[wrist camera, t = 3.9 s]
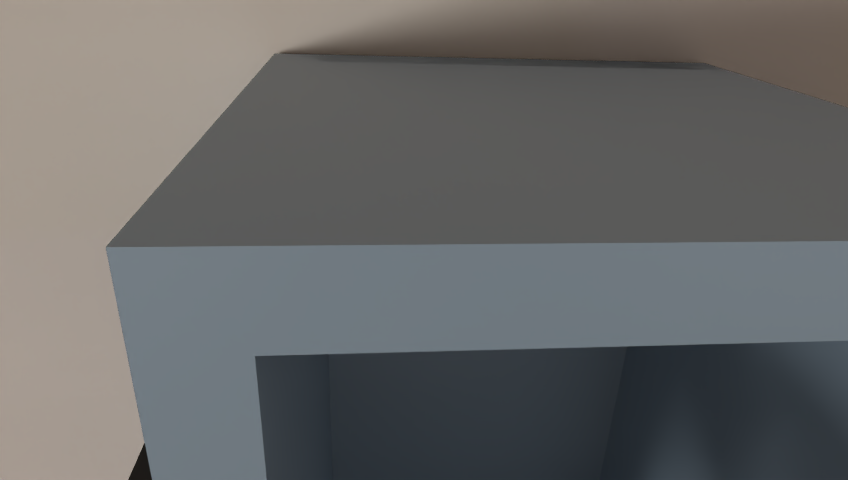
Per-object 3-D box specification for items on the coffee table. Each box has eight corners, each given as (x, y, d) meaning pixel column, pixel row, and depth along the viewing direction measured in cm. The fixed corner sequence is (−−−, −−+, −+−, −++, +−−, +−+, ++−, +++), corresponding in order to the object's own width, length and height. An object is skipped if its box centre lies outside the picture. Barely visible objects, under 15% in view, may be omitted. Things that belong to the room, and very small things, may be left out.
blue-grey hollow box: (274, 53, 8) (104, 249, 3) (704, 63, 9) (1263, 238, 3) (305, 535, 12) (259, 1019, 6) (604, 518, 12) (792, 950, 7)
